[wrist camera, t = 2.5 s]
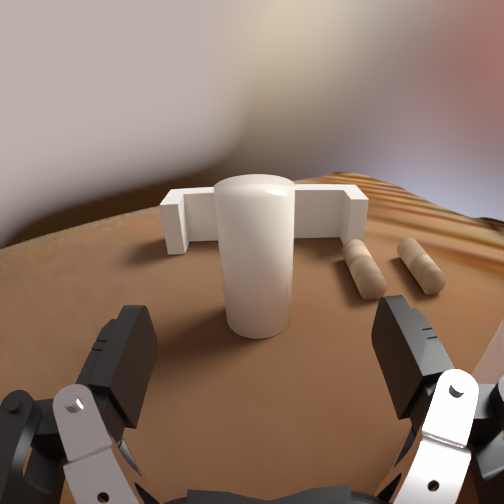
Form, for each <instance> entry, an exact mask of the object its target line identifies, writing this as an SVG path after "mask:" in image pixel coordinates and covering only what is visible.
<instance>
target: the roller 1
mask: <svg viewBox="0 0 504 504" xmlns="http://www.w3.org/2000/svg"><path fill="white" fill-rule="evenodd" d="M342 255H343V257H344V259H345V262H346V264H347V266H348V268H349V270H350V273H351V275H352V277H353V279H354V281H355V284H356V286H357V288H358V290H359V293H360V295H361V297H362V298H363V299H364V300H369V299H379V298H380V297H382V296H383V295H384V293H385V292H386V290H387V282H386V280H385V279H384V277H383V275H382V274H381V272H380V270H379V268H378V267H377V265H376V263H375V262H374V260H373V258H372V257H371V255H370V253H369V252H368V250H367V248H366V247H365V245H364V243H363V242H362V241H361V240H359V239H351V240H349V241H347V242H346V243H345V244H344V245H343V247H342Z"/></svg>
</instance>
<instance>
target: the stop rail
mask: <svg viewBox="0 0 504 504" xmlns="http://www.w3.org/2000/svg"><path fill="white" fill-rule="evenodd" d="M368 202H369V199H368V198H367V197H366V196H365V195H364V194H363V193H362V192H361V191H360V189H359V188H358V187H357V186H356V185H331V184H299V185H295V204H294V238H326V237H340V239H341V241H342V243H343V245H344V244H345V243H346V242H347V241H349V240H351V239H359V240H361V241H362V242H363V241H364V233H365V226H366V218H367V210H368ZM160 210H161V217H162V223H163V229H164V234H165V240H166V245H167V251H168V255H170V254H185V253H186V250H187V248H188V245H189V242H190V241H217V240H218V232H217V221H216V210H215V198H214V187H207V188H206V187H205V188H189V189H174V190H170V192H169V193H168V194H167V196H166V197H165V198H164V200H163V201H162V202H161V204H160Z"/></svg>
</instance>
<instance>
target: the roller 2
mask: <svg viewBox="0 0 504 504" xmlns="http://www.w3.org/2000/svg"><path fill="white" fill-rule="evenodd" d="M397 253H398V255H399V256H400V258H401V259H402V261H403V262H404V263H405V265H406V266H407V268H408V269H409V271H410V272H411V273H412V275H413V276H414V278H415V279H416V281H417V282H418V284H419V285H420V287H421V288H422V290H423V291H424V293H425V294H426V295H427V294H437V293H438V292H440V291H441V290H442V289H443V287H444V285H445V283H446V277H445V275H444V274H443V273H442V272H441V270H440V269H439V268H438V267H437V265H436V264H435V263H434V262H433V261H432V259H431V258H430V257H429V256H428V255H427V253H426V252H425V251H424V250H423V249H422V247H421V246H420V245H419V244H418V243H417V242H416V240H415V239H413V238H406V239H404V240H403V241H401V242H400V244H399V245H398V248H397Z"/></svg>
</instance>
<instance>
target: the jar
mask: <svg viewBox="0 0 504 504" xmlns="http://www.w3.org/2000/svg"><path fill="white" fill-rule="evenodd" d="M503 375H504V317H503V319H502V321H501V323H500V325H499V327H498V329H497V331H496V333H495V335H494V337H493V338H492V340H491V342H490V344H489V346H488V347H487V349H486V351H485V353H484V354H483V356H482V358H481V359H480V361H479V363H478V364H477V366H476V368H475V369H474V371H473V372H472V374H471V375H470V376H471V377H472V378H473V379H474V381H475V382H476V383H479V384H497V382H498V381H499V379H500V378H501V377H502V376H503ZM501 436H502V439H503V441H504V431H502V432H501Z"/></svg>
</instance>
